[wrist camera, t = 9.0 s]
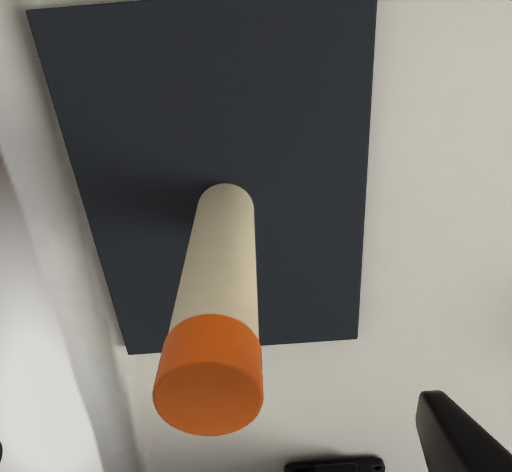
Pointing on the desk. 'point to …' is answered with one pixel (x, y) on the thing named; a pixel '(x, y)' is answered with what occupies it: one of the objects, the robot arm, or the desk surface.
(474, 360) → the desk surface
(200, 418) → the glue stick
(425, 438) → the robot arm
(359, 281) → the mat
